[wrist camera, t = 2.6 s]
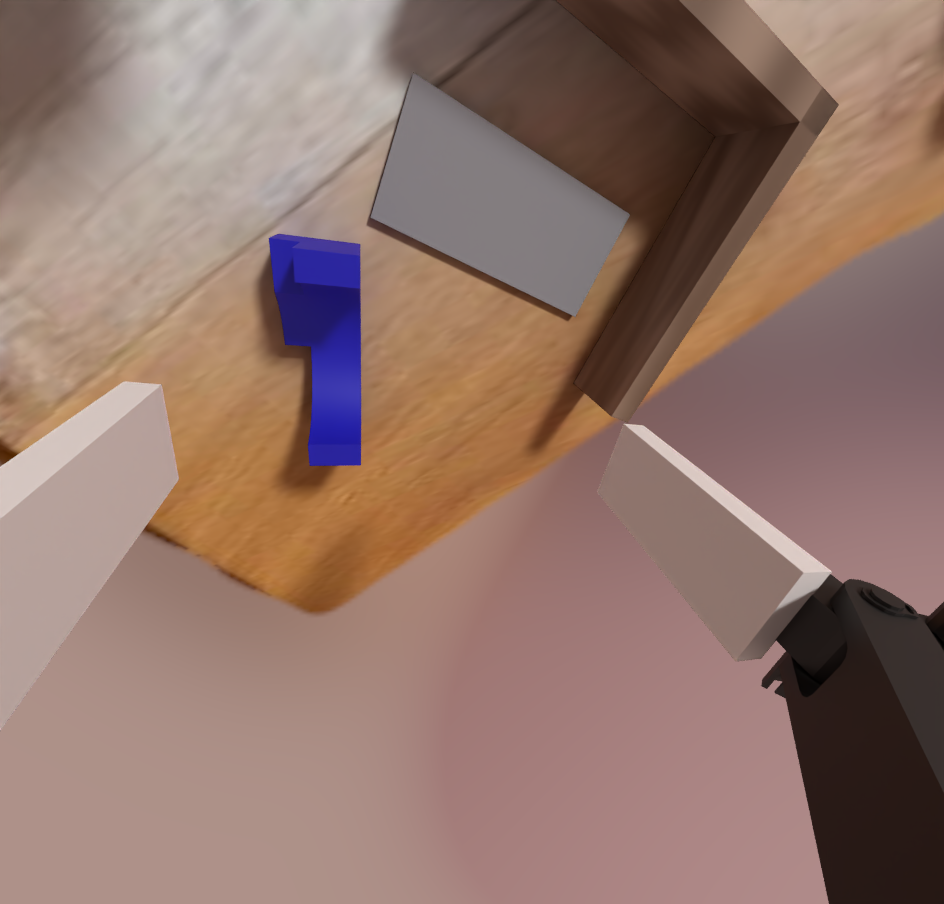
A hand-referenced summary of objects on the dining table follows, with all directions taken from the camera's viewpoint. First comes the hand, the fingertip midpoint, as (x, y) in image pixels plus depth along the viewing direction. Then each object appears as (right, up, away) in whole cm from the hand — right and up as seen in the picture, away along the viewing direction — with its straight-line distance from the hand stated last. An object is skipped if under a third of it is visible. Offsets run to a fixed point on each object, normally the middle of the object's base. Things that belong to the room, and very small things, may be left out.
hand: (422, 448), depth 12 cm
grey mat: (+4, +15, +13) cm, 20 cm away
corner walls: (+6, +15, +13) cm, 21 cm away
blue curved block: (-8, +7, +15) cm, 19 cm away
